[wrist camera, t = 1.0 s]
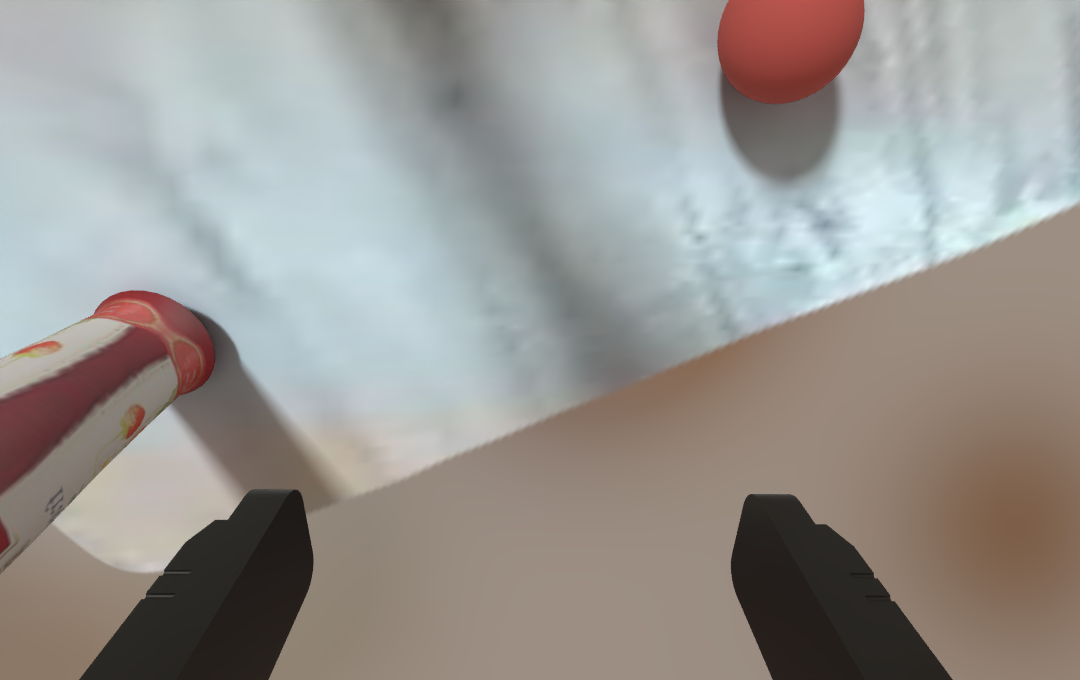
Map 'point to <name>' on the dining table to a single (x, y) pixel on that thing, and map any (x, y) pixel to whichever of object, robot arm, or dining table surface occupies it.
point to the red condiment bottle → (88, 403)
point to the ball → (787, 45)
